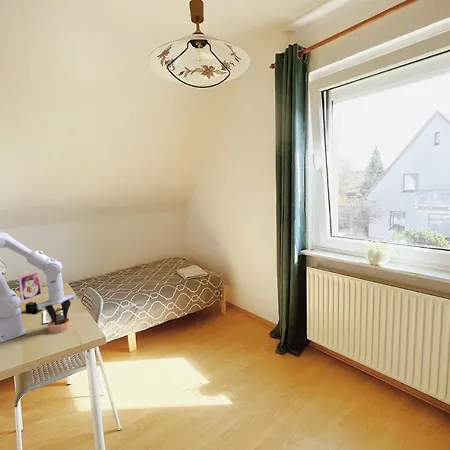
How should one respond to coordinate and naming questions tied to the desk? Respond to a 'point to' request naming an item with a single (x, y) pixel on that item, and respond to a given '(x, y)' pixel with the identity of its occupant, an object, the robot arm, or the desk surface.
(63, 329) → the peach round shallow bowl
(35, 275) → the greeting card
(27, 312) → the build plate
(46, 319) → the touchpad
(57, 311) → the battery
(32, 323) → the desk surface
